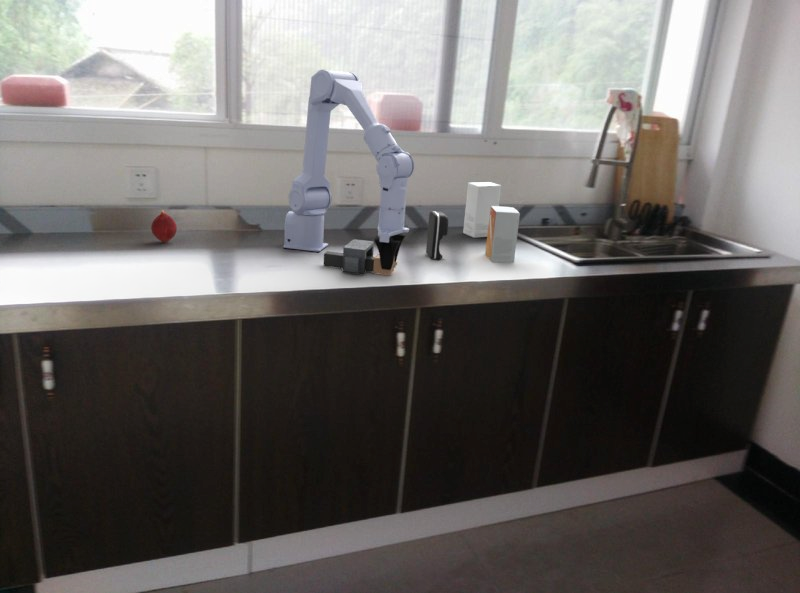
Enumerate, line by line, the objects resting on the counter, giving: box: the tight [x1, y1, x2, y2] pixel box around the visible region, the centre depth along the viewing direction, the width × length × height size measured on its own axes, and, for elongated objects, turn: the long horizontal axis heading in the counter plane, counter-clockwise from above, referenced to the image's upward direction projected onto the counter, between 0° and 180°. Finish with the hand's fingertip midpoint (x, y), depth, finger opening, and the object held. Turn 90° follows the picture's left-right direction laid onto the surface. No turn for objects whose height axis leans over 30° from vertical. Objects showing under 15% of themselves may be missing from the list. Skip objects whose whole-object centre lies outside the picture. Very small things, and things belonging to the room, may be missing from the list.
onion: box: [150, 209, 178, 244], centre depth 157 cm, size 6×6×8 cm
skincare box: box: [462, 181, 502, 238], centre depth 191 cm, size 8×7×16 cm
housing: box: [341, 238, 375, 276], centre depth 146 cm, size 5×11×6 cm, turn 169°
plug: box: [323, 250, 398, 276], centre depth 148 cm, size 17×4×4 cm, turn 79°
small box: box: [484, 205, 521, 264], centre depth 166 cm, size 8×6×13 cm
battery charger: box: [425, 210, 449, 260], centre depth 163 cm, size 7×4×11 cm, turn 11°
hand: (388, 266), depth 147 cm, fingers closed on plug, 4 cm apart
